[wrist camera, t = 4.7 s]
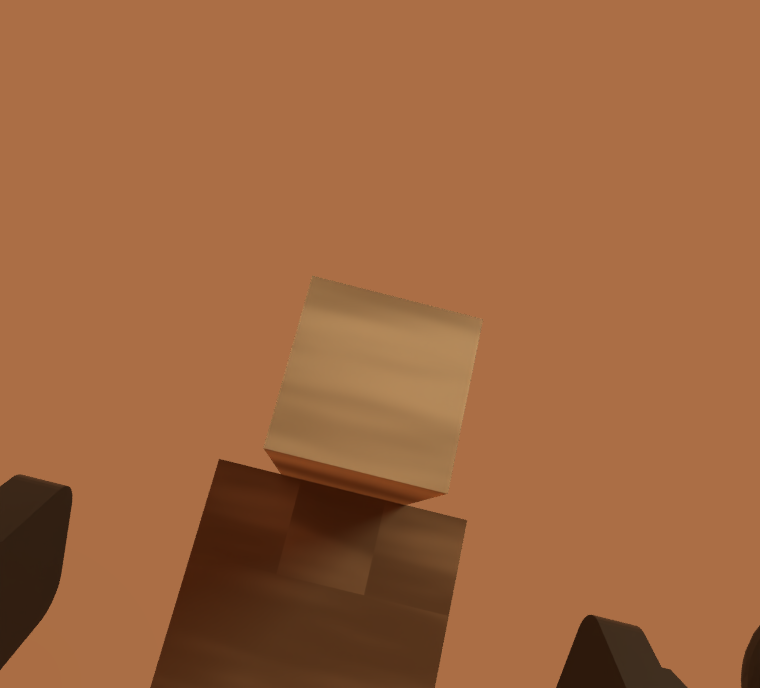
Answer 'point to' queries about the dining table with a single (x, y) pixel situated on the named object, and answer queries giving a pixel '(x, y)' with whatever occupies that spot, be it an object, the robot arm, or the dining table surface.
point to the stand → (310, 589)
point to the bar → (373, 394)
